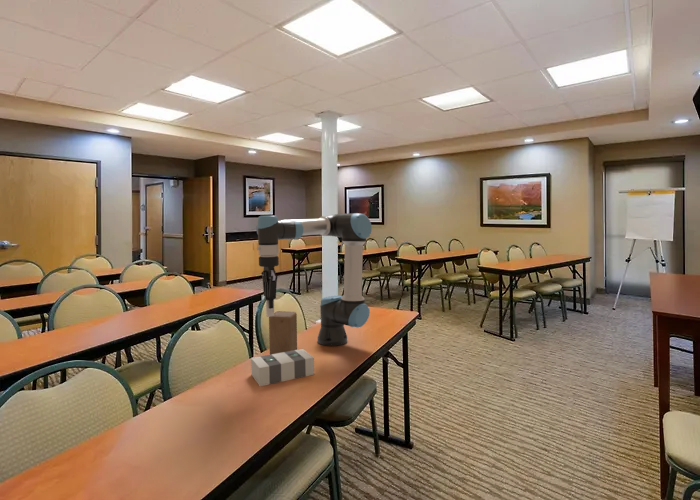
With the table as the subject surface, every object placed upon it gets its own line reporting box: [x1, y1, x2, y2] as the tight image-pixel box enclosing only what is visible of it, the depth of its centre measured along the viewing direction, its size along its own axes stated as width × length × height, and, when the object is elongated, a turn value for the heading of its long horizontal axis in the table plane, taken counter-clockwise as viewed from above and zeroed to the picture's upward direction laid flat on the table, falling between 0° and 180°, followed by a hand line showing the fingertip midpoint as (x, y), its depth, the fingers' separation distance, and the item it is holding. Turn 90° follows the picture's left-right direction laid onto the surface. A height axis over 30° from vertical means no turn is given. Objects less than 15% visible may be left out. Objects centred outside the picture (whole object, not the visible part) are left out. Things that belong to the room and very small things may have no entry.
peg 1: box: [265, 357, 276, 363], centre depth 151 cm, size 4×4×7 cm
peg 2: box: [289, 353, 299, 358], centre depth 156 cm, size 4×4×7 cm
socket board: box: [250, 348, 315, 387], centre depth 153 cm, size 22×12×7 cm, turn 119°
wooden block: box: [268, 310, 298, 355], centre depth 173 cm, size 10×10×20 cm
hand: (270, 315), depth 150 cm, fingers closed
